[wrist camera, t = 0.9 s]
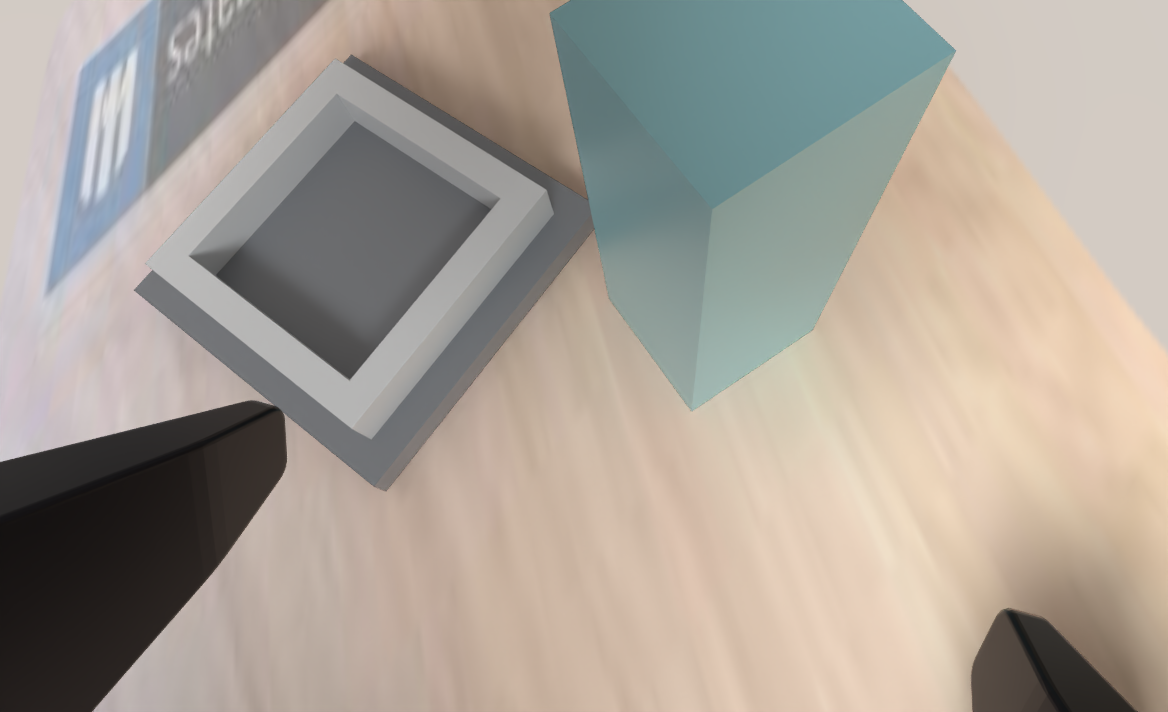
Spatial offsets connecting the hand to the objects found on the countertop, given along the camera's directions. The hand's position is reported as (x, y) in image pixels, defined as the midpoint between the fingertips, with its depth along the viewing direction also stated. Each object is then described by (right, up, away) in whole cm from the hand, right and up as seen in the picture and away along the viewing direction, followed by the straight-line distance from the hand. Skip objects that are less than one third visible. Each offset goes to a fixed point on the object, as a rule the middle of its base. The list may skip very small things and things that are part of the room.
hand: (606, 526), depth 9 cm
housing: (+4, +3, +15) cm, 15 cm away
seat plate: (-7, +5, +16) cm, 19 cm away
